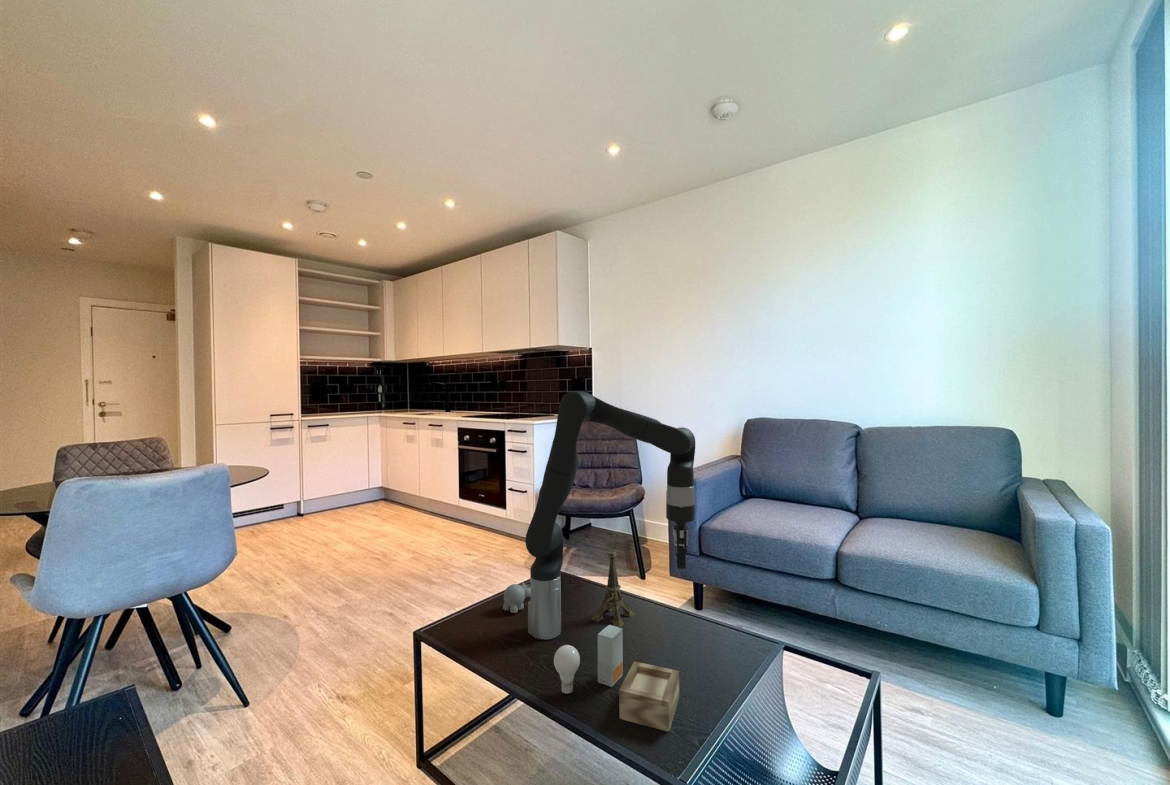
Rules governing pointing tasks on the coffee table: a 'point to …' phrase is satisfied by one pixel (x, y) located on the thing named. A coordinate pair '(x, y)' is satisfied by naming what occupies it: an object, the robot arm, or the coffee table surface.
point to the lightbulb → (567, 666)
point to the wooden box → (649, 696)
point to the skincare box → (610, 655)
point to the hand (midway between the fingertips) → (680, 562)
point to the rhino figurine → (516, 597)
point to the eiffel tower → (613, 596)
